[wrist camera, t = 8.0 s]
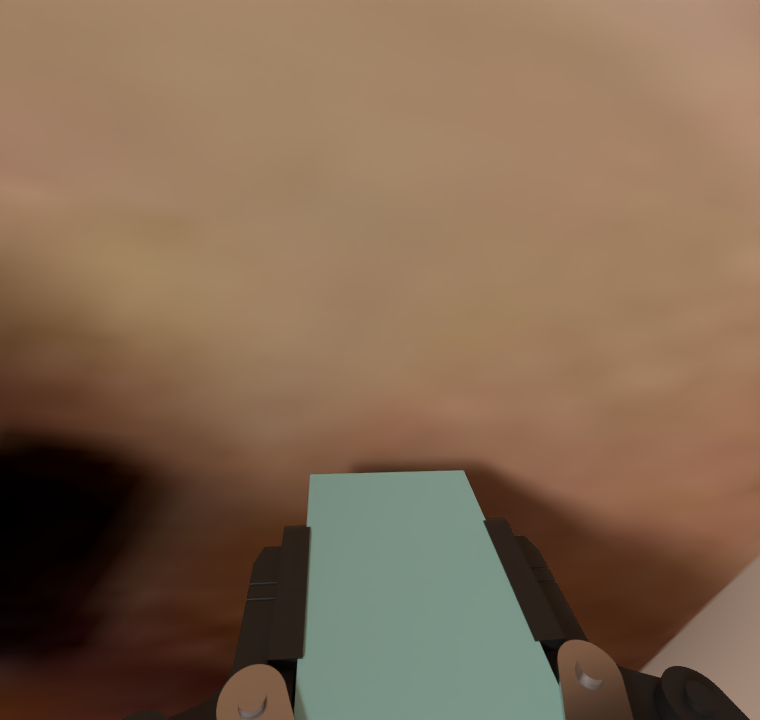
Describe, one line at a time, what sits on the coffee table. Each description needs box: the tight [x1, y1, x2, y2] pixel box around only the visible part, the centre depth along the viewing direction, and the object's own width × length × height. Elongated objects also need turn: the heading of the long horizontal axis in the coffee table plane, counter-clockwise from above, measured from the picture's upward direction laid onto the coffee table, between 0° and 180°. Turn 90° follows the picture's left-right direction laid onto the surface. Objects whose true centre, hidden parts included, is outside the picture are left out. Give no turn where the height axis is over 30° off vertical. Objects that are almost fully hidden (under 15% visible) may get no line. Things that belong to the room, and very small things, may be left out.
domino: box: [294, 470, 563, 720], centre depth 10 cm, size 2×5×9 cm, turn 87°
